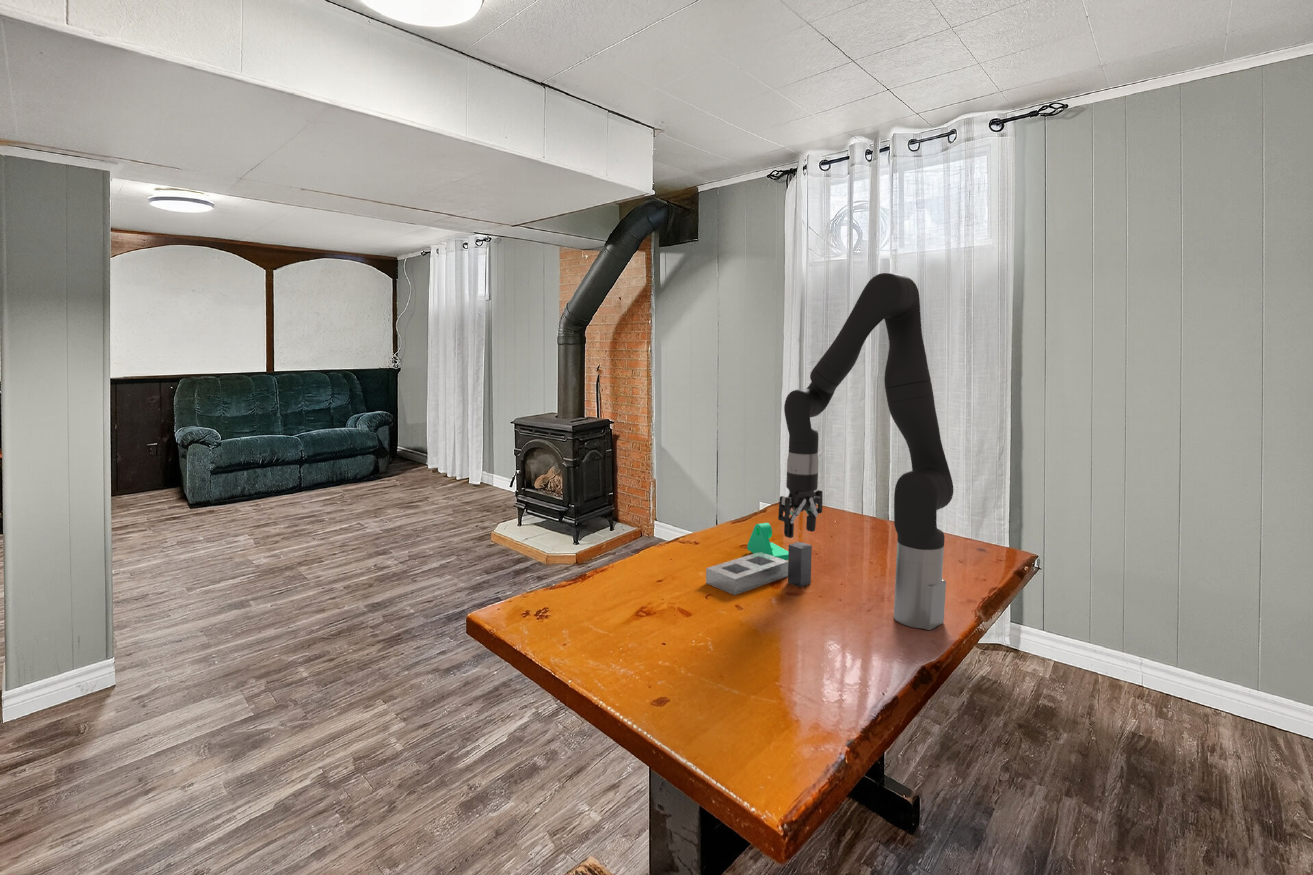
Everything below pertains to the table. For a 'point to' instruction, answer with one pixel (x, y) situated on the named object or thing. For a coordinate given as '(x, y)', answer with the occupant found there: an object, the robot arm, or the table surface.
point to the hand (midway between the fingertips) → (800, 533)
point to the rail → (746, 572)
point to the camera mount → (765, 542)
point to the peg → (799, 564)
